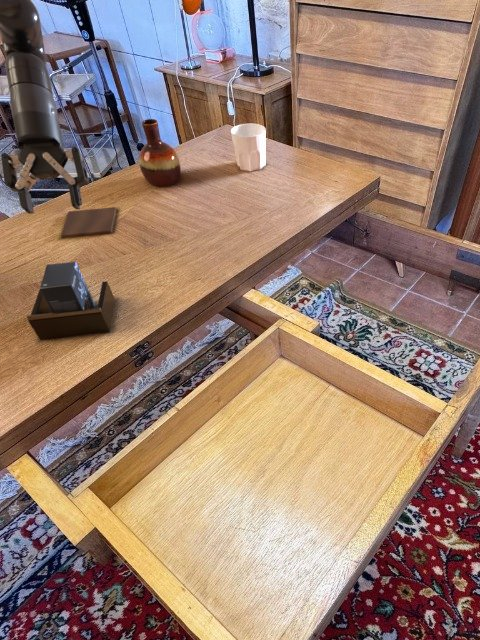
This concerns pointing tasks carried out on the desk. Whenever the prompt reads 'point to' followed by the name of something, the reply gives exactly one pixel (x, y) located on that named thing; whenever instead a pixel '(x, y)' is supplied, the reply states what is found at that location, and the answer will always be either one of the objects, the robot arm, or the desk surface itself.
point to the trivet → (89, 222)
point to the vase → (158, 158)
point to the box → (65, 288)
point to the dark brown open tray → (72, 318)
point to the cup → (249, 146)
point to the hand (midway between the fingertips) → (52, 210)
